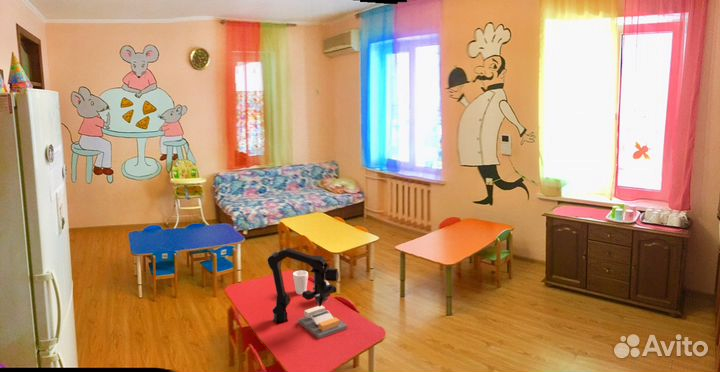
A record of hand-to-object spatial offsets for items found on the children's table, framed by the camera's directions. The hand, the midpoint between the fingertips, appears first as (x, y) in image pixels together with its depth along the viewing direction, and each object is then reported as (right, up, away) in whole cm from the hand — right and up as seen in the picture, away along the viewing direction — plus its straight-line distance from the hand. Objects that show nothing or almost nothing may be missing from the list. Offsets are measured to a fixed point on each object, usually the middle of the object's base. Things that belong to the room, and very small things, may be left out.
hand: (319, 306), depth 271 cm
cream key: (-3, -6, +6) cm, 9 cm away
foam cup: (-15, -2, +43) cm, 46 cm away
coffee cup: (-1, -4, +32) cm, 32 cm away
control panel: (+2, -11, +1) cm, 11 cm away
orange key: (+6, -10, -5) cm, 12 cm away
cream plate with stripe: (+2, -6, 0) cm, 6 cm away
